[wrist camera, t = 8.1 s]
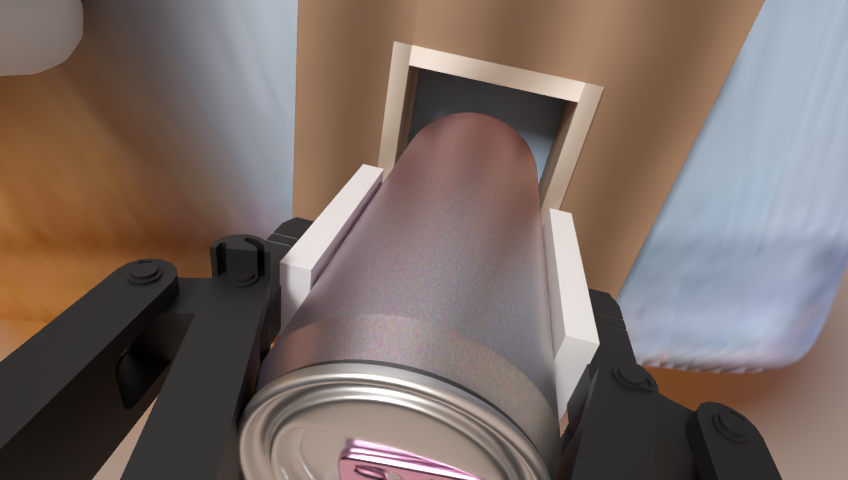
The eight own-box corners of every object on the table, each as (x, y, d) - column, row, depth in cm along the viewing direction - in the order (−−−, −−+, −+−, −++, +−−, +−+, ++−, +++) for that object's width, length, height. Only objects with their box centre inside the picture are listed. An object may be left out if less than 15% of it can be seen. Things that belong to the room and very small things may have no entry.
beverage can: (526, 239, 22) (535, 614, 9) (403, 225, 23) (250, 550, 10) (547, 113, 19) (605, 404, 6) (405, 102, 20) (185, 338, 7)
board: (310, 243, 30) (289, 270, 27) (328, -94, 20) (298, -105, 18) (585, 312, 28) (592, 347, 26) (737, -13, 19) (773, -11, 16)
